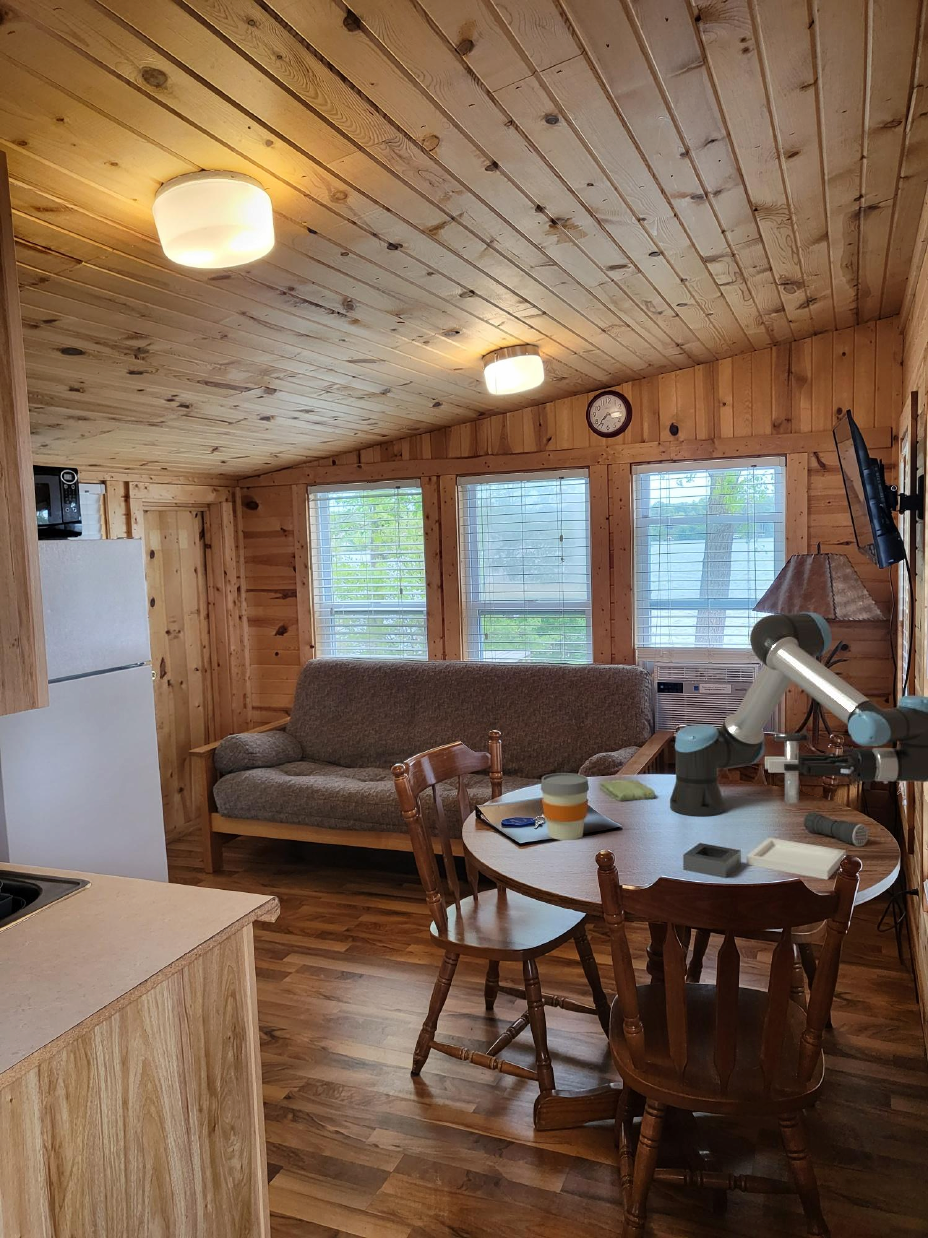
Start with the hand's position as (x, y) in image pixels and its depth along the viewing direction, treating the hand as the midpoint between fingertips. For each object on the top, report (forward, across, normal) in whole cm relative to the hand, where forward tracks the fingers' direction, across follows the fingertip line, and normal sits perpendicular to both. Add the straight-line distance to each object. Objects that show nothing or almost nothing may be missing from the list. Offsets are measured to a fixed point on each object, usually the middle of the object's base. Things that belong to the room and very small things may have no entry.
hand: (767, 764), depth 204 cm
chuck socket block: (+13, -4, -23) cm, 27 cm away
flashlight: (-20, +18, -24) cm, 36 cm away
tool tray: (-7, 0, -23) cm, 24 cm away
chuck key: (-5, 0, -9) cm, 10 cm away
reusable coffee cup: (+48, +18, -23) cm, 56 cm away
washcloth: (+30, +60, -24) cm, 71 cm away
